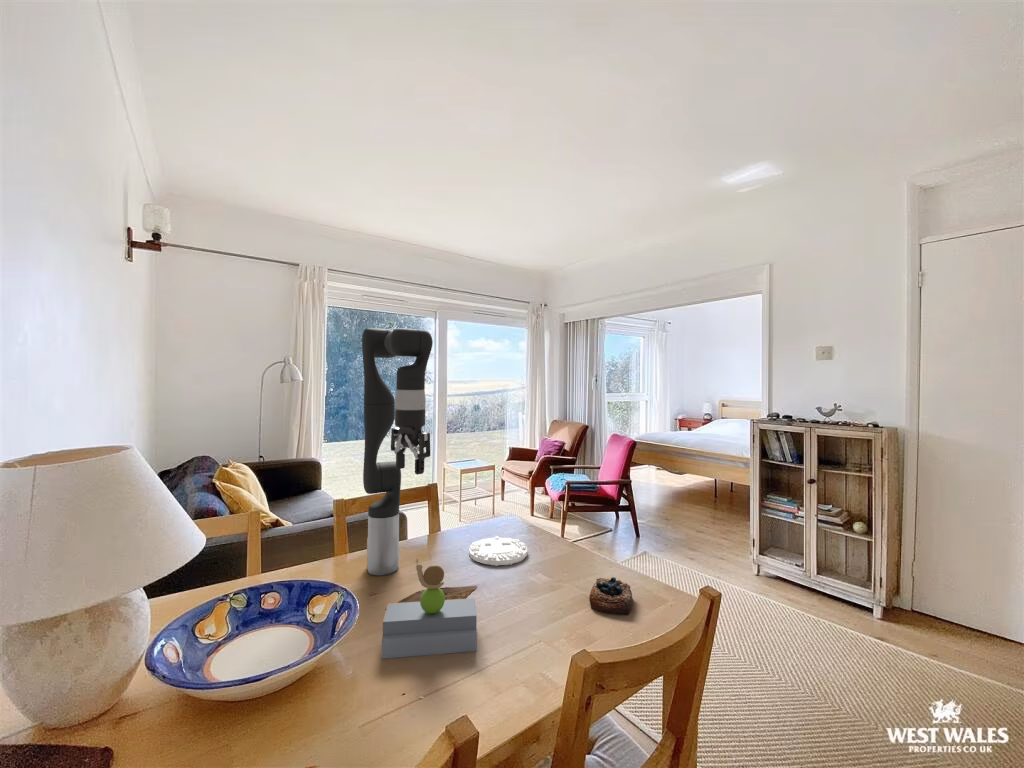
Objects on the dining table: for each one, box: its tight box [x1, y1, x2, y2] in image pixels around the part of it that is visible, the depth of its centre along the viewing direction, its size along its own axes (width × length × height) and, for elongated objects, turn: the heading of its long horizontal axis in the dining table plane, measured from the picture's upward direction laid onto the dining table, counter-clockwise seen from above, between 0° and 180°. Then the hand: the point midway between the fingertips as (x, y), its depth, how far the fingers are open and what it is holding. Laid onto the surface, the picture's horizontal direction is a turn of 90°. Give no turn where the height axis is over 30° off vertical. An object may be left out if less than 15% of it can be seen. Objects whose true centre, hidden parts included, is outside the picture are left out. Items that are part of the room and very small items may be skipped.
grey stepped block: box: [380, 597, 478, 660], centre depth 94 cm, size 20×10×7 cm, turn 98°
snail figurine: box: [415, 558, 445, 614], centre depth 93 cm, size 5×6×12 cm
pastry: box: [588, 576, 634, 616], centre depth 111 cm, size 11×12×6 cm
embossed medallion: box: [468, 535, 528, 567], centre depth 142 cm, size 20×20×3 cm
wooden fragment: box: [385, 585, 478, 611], centre depth 112 cm, size 26×11×1 cm, turn 118°
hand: (409, 471), depth 106 cm, fingers open, 8 cm apart
